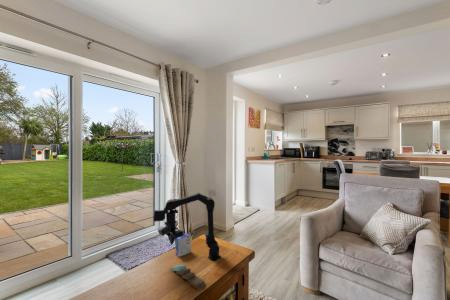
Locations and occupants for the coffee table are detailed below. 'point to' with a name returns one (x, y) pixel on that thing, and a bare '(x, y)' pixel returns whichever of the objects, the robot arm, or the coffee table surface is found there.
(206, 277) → the coffee table surface
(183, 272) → the domino
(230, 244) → the coffee table surface
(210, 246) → the robot arm
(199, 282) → the domino
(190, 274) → the domino
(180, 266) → the domino
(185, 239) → the ink cartridge box
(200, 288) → the domino
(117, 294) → the coffee table surface
